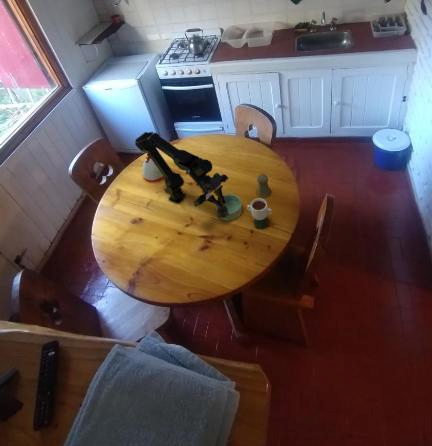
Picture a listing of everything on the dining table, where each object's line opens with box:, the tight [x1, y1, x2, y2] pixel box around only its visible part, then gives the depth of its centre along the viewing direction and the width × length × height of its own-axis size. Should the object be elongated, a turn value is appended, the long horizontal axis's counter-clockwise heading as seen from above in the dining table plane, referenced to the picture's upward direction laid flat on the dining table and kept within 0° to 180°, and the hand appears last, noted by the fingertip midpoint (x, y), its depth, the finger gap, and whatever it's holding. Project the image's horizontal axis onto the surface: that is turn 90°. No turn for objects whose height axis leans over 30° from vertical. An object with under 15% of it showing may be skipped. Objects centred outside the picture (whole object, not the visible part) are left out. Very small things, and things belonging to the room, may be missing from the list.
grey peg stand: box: [216, 197, 229, 219], centre depth 153 cm, size 5×5×10 cm
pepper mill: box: [256, 173, 271, 198], centre depth 166 cm, size 6×6×11 cm
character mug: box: [246, 197, 273, 230], centre depth 151 cm, size 11×7×13 cm, turn 69°
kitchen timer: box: [141, 153, 165, 183], centre depth 189 cm, size 14×14×15 cm
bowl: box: [214, 193, 243, 221], centre depth 163 cm, size 12×12×4 cm
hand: (223, 205), depth 151 cm, fingers closed on grey peg stand, 2 cm apart
